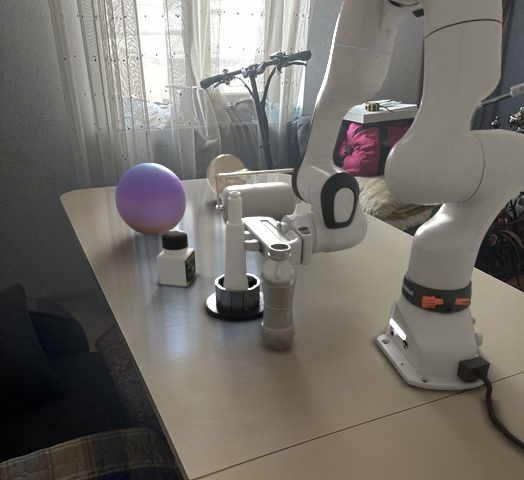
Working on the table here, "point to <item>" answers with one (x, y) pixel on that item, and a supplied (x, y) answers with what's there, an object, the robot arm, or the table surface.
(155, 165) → the ball
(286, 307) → the plastic bottle
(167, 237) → the medicine bottle
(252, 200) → the lamp
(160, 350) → the table surface
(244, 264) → the cosmetic bottle
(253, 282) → the stand
